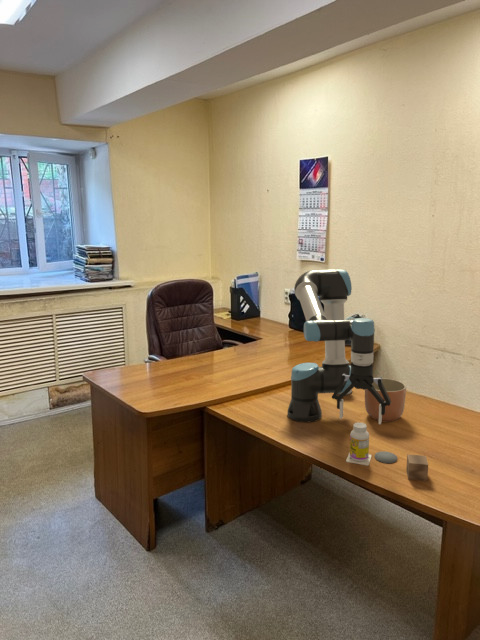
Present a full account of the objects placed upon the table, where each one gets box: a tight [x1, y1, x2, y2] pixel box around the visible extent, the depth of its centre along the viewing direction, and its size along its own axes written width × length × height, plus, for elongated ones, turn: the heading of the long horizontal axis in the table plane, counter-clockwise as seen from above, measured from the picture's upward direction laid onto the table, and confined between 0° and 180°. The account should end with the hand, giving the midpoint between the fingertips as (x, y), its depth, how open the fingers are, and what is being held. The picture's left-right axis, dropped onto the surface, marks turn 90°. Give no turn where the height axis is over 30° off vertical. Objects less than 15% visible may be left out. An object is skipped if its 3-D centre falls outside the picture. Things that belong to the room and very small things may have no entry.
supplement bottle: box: [349, 421, 370, 462], centre depth 169 cm, size 7×7×13 cm
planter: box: [364, 377, 407, 423], centre depth 203 cm, size 17×17×15 cm
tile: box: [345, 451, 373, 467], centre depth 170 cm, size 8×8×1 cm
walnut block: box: [405, 454, 429, 482], centre depth 158 cm, size 6×6×6 cm
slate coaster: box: [374, 450, 398, 464], centre depth 170 cm, size 8×8×1 cm
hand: (360, 420), depth 167 cm, fingers open, 13 cm apart
